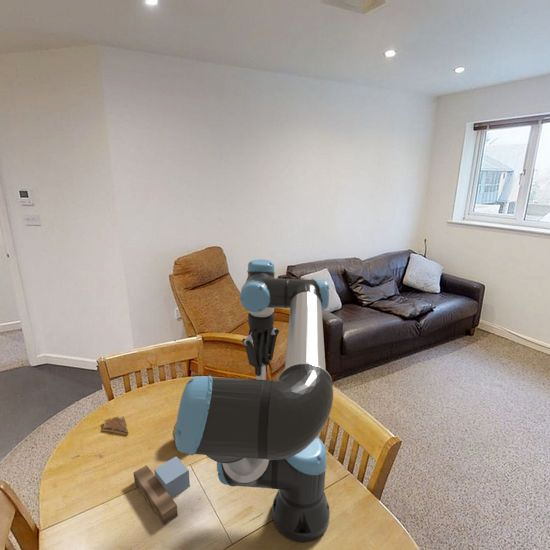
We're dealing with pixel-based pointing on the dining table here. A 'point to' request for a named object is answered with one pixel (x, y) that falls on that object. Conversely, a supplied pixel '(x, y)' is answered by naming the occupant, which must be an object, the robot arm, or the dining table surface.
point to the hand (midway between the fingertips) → (261, 382)
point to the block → (173, 476)
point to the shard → (116, 425)
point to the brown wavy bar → (155, 494)
